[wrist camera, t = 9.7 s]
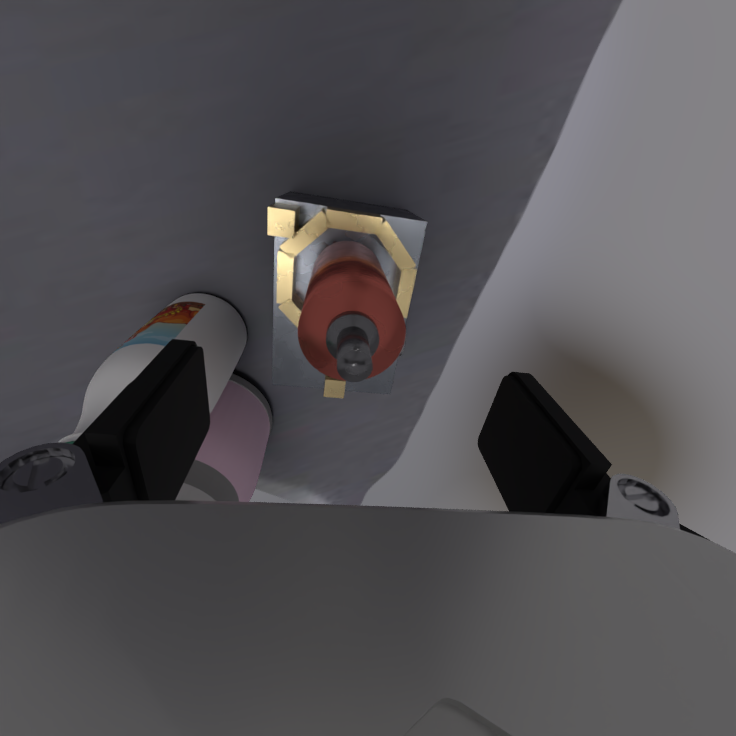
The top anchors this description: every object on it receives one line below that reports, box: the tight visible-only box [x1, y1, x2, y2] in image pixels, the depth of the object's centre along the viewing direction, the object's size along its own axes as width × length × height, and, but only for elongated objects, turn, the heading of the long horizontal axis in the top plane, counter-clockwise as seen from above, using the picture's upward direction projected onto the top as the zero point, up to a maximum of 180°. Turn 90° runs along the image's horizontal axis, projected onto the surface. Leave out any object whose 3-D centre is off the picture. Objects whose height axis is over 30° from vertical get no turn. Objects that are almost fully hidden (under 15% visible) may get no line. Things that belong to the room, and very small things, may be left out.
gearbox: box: [267, 192, 427, 398], centre depth 28 cm, size 14×11×11 cm
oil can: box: [298, 241, 406, 382], centre depth 19 cm, size 5×5×13 cm
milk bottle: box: [59, 293, 247, 444], centre depth 26 cm, size 8×8×20 cm
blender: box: [175, 374, 272, 502], centre depth 26 cm, size 16×12×32 cm
